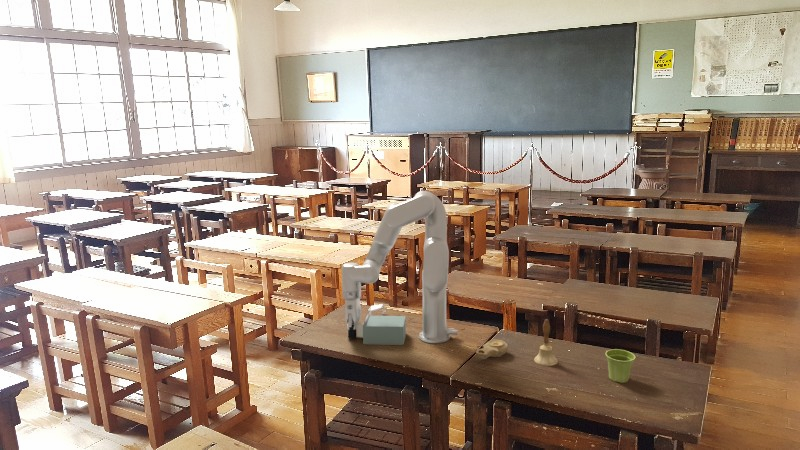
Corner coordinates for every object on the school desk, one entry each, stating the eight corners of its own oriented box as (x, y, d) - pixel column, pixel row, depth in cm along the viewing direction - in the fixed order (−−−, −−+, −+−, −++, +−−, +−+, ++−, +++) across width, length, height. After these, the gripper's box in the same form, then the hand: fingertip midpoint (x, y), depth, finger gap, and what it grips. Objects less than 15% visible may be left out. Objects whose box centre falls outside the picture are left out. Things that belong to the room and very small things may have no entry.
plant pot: (640, 383, 184) (641, 358, 182) (615, 387, 181) (617, 362, 180) (621, 371, 193) (622, 347, 191) (598, 374, 190) (599, 351, 189)
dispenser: (405, 333, 230) (405, 314, 228) (403, 344, 218) (403, 325, 216) (367, 332, 231) (367, 314, 230) (363, 344, 219) (362, 324, 218)
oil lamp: (474, 362, 202) (474, 349, 201) (482, 347, 215) (482, 335, 214) (503, 366, 198) (503, 353, 197) (510, 351, 211) (510, 338, 210)
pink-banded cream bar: (380, 334, 226) (380, 322, 225) (379, 337, 223) (379, 325, 222) (348, 334, 227) (348, 322, 226) (347, 337, 224) (347, 325, 223)
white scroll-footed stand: (370, 312, 255) (370, 302, 255) (387, 314, 253) (387, 303, 252) (361, 321, 244) (360, 310, 243) (378, 323, 242) (378, 312, 241)
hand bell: (544, 367, 196) (546, 325, 193) (529, 359, 203) (530, 318, 200) (562, 362, 200) (564, 321, 197) (546, 354, 207) (548, 314, 204)
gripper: (357, 300, 214) (359, 345, 217) (364, 287, 230) (365, 329, 233) (338, 300, 214) (340, 344, 218) (346, 287, 230) (347, 329, 234)
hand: (353, 336), depth 225 cm, fingers closed on pink-banded cream bar, 3 cm apart
